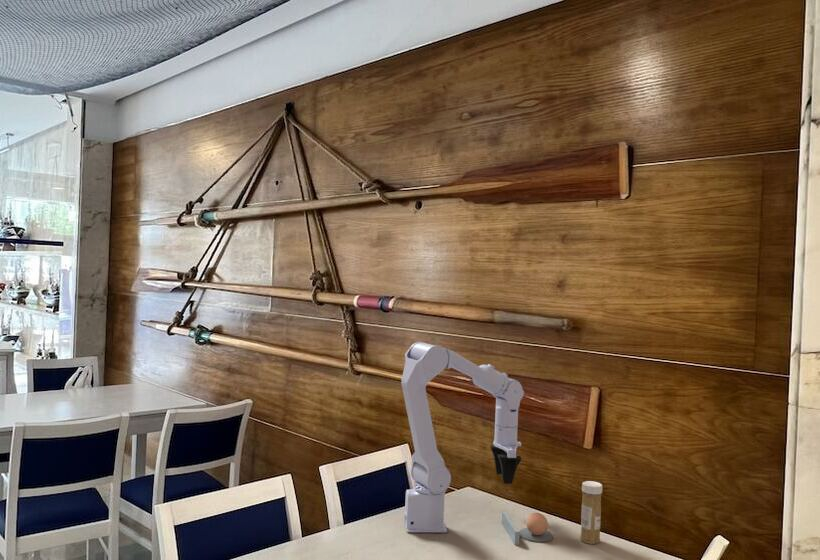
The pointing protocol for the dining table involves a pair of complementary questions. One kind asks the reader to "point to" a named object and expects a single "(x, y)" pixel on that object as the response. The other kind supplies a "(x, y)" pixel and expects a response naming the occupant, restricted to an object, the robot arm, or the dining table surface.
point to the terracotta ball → (537, 524)
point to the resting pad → (535, 536)
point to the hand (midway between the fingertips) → (504, 478)
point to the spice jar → (591, 512)
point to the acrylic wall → (510, 528)
